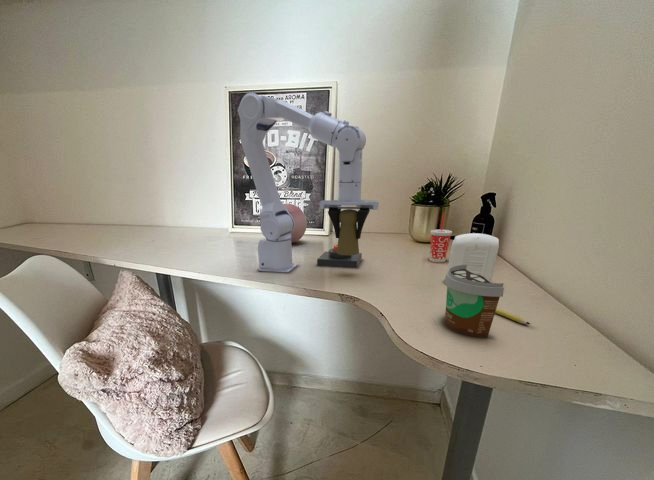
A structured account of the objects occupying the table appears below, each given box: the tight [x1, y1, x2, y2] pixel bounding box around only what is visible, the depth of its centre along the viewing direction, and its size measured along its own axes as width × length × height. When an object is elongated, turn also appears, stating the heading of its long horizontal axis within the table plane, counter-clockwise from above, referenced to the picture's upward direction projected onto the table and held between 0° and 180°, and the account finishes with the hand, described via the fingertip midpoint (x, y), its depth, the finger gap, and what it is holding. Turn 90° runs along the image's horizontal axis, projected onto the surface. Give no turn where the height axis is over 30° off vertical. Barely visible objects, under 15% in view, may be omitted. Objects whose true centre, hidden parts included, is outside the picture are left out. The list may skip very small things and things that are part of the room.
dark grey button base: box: [316, 247, 363, 269], centre depth 103 cm, size 12×10×4 cm
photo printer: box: [446, 232, 500, 283], centre depth 80 cm, size 10×4×12 cm, turn 72°
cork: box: [336, 209, 360, 255], centre depth 87 cm, size 6×6×11 cm
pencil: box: [495, 307, 531, 325], centre depth 66 cm, size 1×14×1 cm, turn 24°
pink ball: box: [283, 203, 308, 244], centre depth 129 cm, size 15×15×15 cm
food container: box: [443, 265, 505, 338], centre depth 59 cm, size 12×6×10 cm, turn 5°
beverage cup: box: [429, 213, 453, 263], centre depth 101 cm, size 6×6×14 cm
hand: (347, 237), depth 87 cm, fingers closed on cork, 5 cm apart
